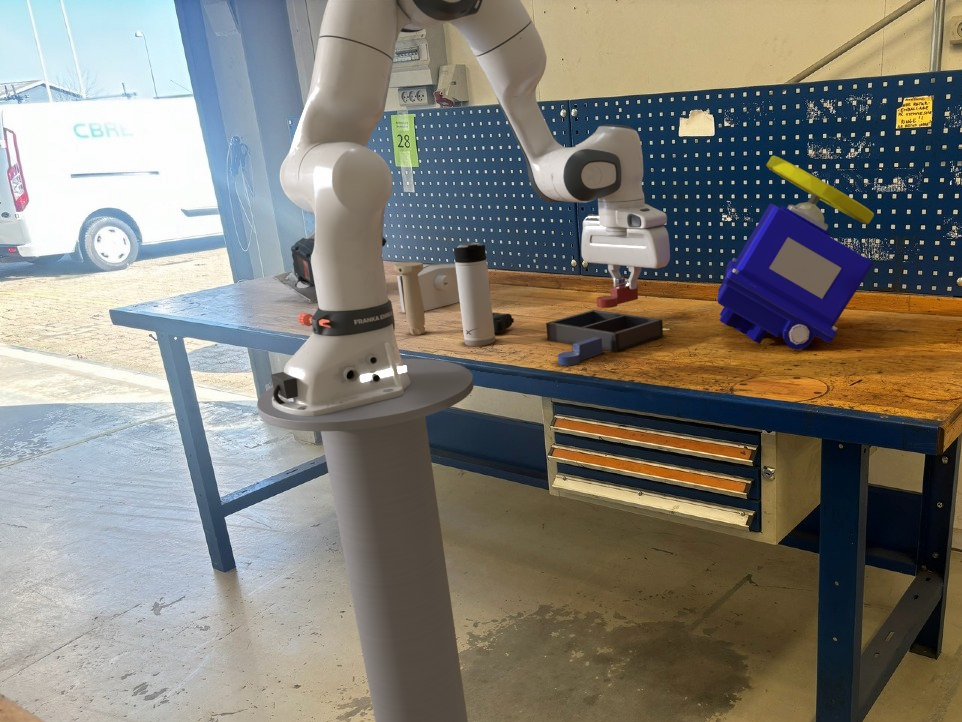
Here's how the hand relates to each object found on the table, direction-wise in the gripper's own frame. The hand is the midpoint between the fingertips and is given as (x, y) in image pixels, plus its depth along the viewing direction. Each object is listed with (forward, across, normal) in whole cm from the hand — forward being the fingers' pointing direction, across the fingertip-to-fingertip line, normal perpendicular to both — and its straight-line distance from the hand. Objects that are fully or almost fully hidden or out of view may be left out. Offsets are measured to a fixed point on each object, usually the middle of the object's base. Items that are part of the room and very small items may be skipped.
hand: (625, 288), depth 167 cm
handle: (+10, -44, -20) cm, 49 cm away
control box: (+10, +26, +20) cm, 34 cm away
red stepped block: (+2, 0, -2) cm, 4 cm away
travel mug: (+10, -24, -18) cm, 32 cm away
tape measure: (+10, -28, -10) cm, 32 cm away
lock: (+10, -64, +1) cm, 65 cm away
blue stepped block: (+10, +2, -16) cm, 19 cm away
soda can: (+10, -73, +20) cm, 77 cm away
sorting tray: (+10, -4, -2) cm, 11 cm away
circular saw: (+10, -104, -3) cm, 105 cm away
